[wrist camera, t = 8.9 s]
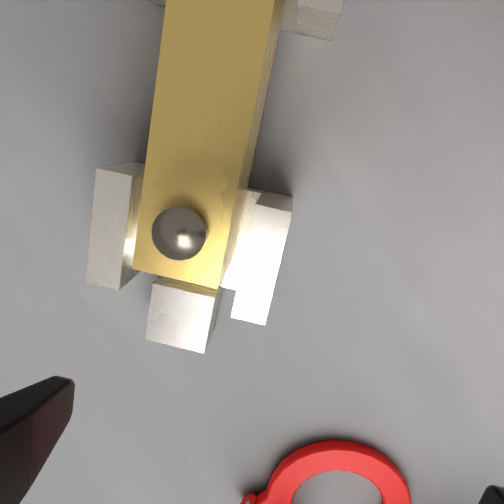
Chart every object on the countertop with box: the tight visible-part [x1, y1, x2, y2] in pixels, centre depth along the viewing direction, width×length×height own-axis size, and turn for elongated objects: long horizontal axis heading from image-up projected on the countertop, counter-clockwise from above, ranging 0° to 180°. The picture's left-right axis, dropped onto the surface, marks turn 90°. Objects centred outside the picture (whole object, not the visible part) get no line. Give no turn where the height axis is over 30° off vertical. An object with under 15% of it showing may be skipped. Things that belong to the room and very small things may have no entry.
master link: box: [132, 0, 286, 289], centre depth 15 cm, size 4×14×5 cm, turn 168°
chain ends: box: [86, 0, 344, 353], centre depth 17 cm, size 8×23×4 cm, turn 168°
